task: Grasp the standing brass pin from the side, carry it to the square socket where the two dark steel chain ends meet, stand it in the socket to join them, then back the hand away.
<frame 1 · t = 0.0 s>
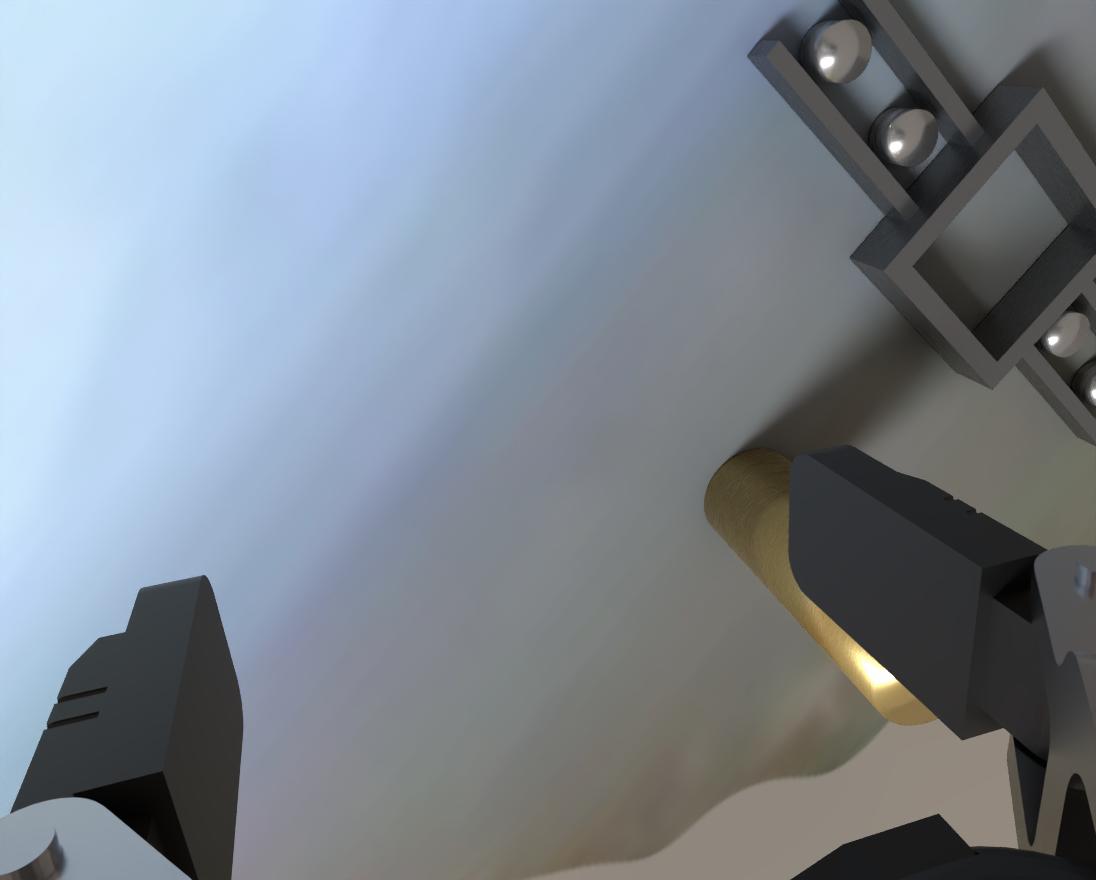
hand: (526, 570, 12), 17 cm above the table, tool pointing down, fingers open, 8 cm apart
brass pin: (750, 494, 34), on the table
chain ends: (975, 238, 32), on the table
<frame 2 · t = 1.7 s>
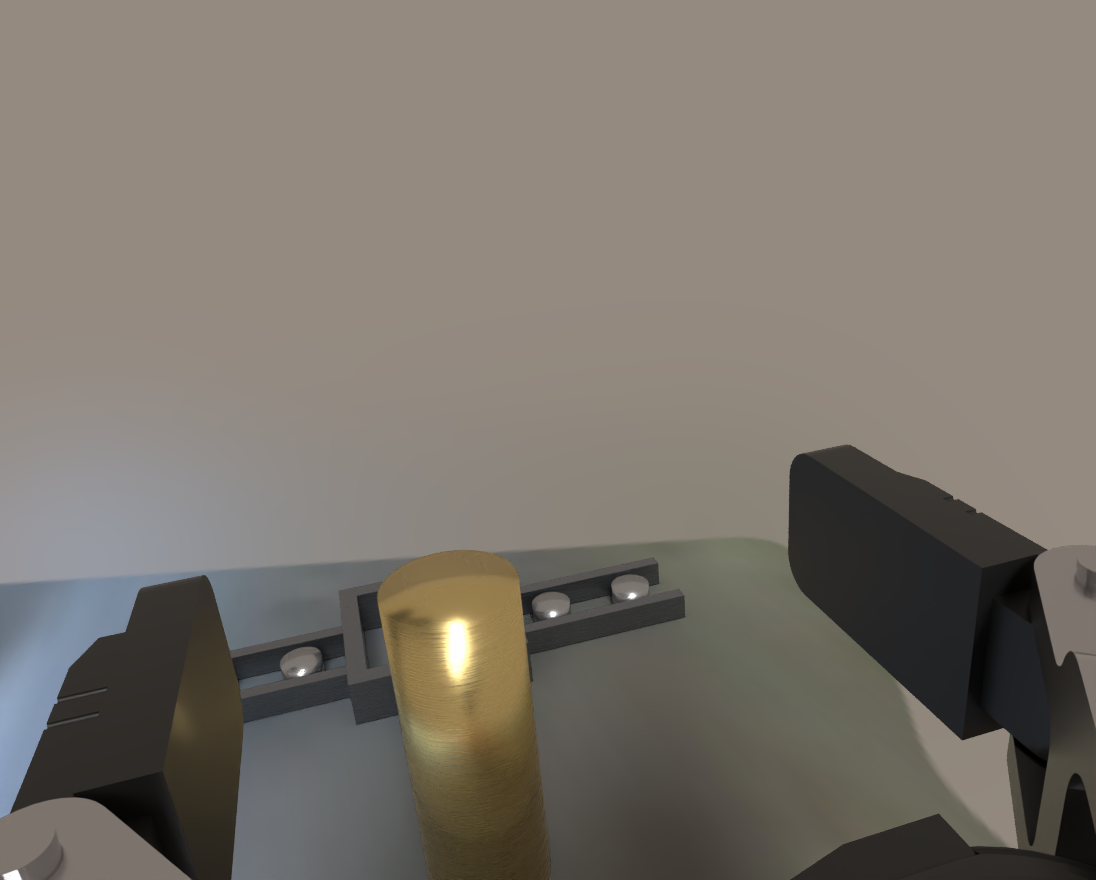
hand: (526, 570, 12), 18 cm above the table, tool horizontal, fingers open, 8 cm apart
brass pin: (490, 870, 28), on the table
chain ends: (433, 651, 40), on the table
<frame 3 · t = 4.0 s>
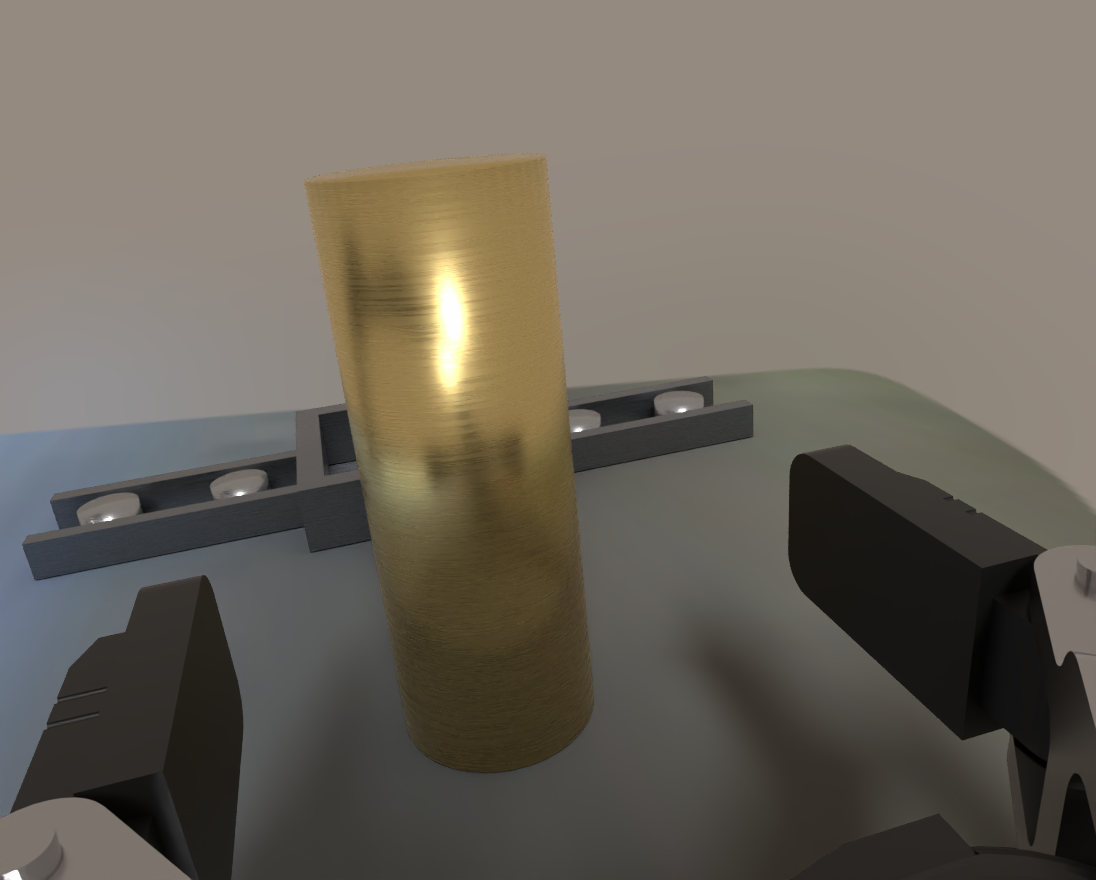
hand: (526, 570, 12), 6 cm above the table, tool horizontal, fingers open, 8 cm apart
brass pin: (500, 703, 18), on the table
chain ends: (419, 479, 30), on the table
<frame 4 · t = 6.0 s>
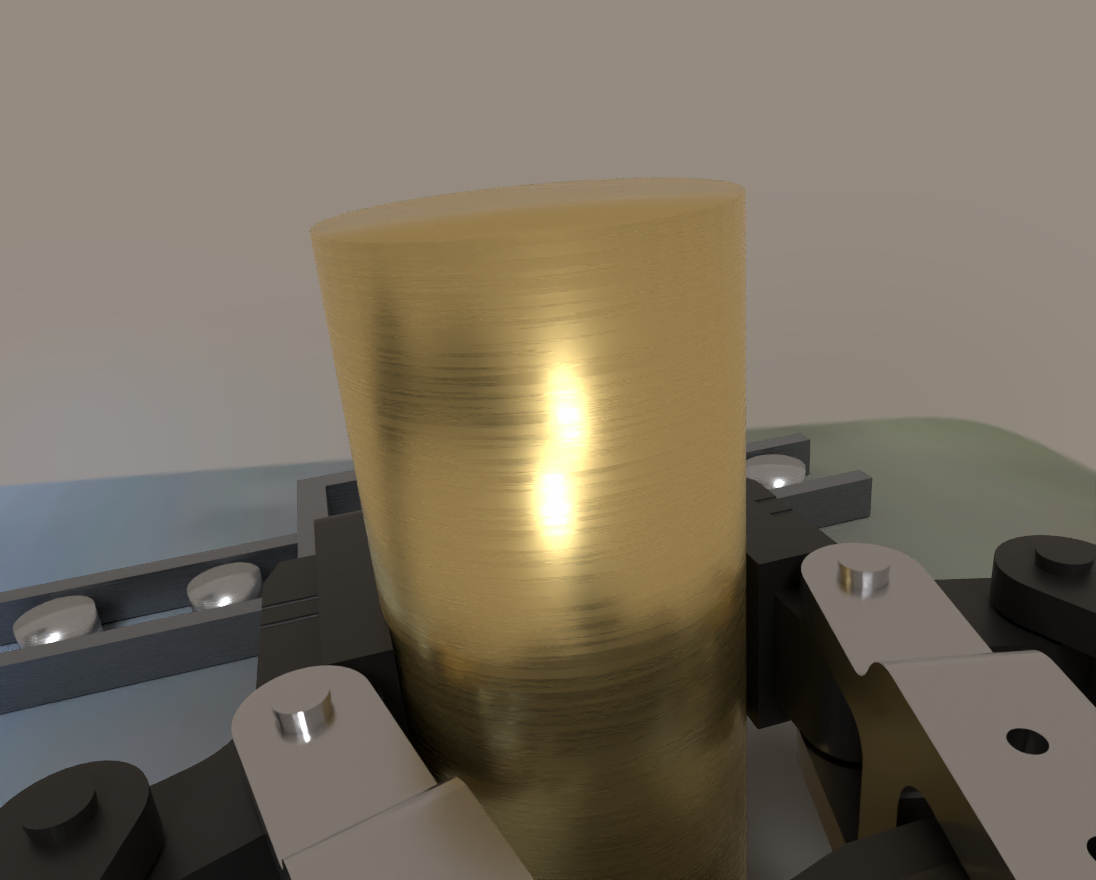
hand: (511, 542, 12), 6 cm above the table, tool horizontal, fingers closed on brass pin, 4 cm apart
chain ends: (452, 572, 24), on the table
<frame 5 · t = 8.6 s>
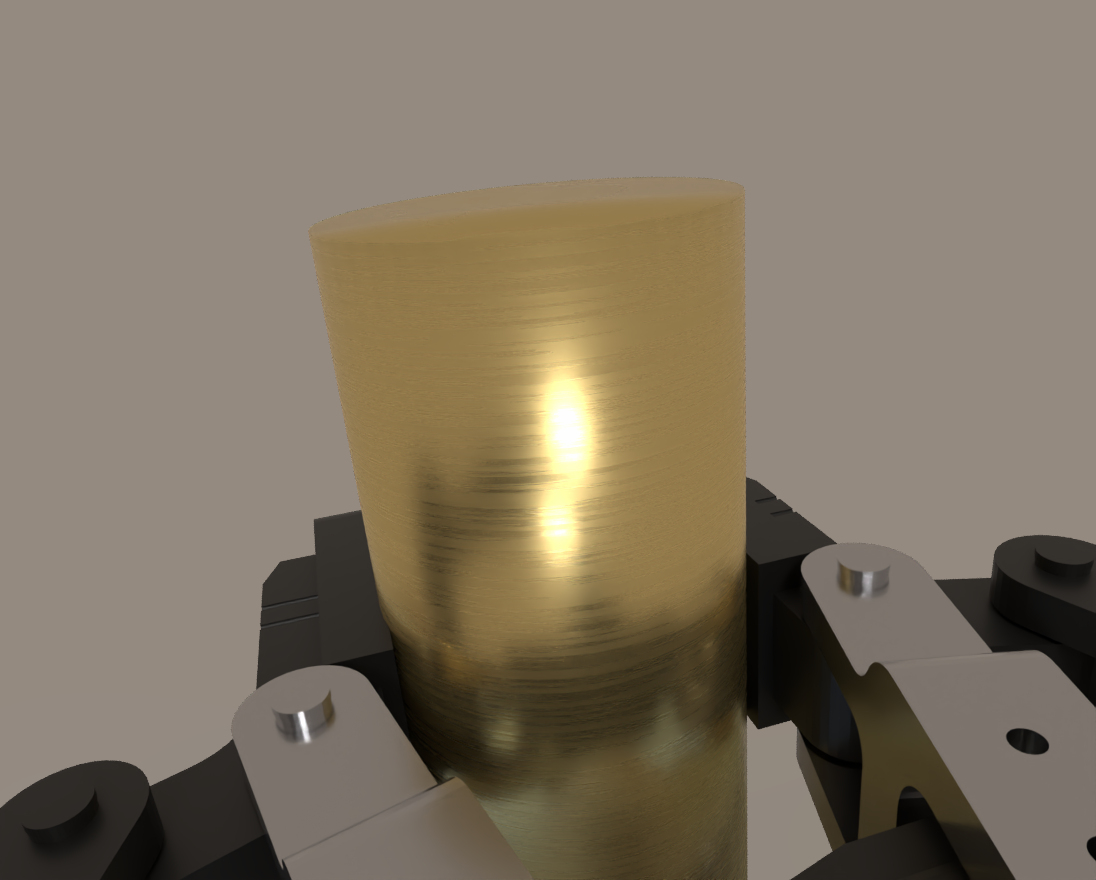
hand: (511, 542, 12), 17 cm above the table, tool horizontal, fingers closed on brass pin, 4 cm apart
when the fingers open (7 cm above the table, at t = 11.1 s): brass pin drops 1 cm, resting in chain ends.
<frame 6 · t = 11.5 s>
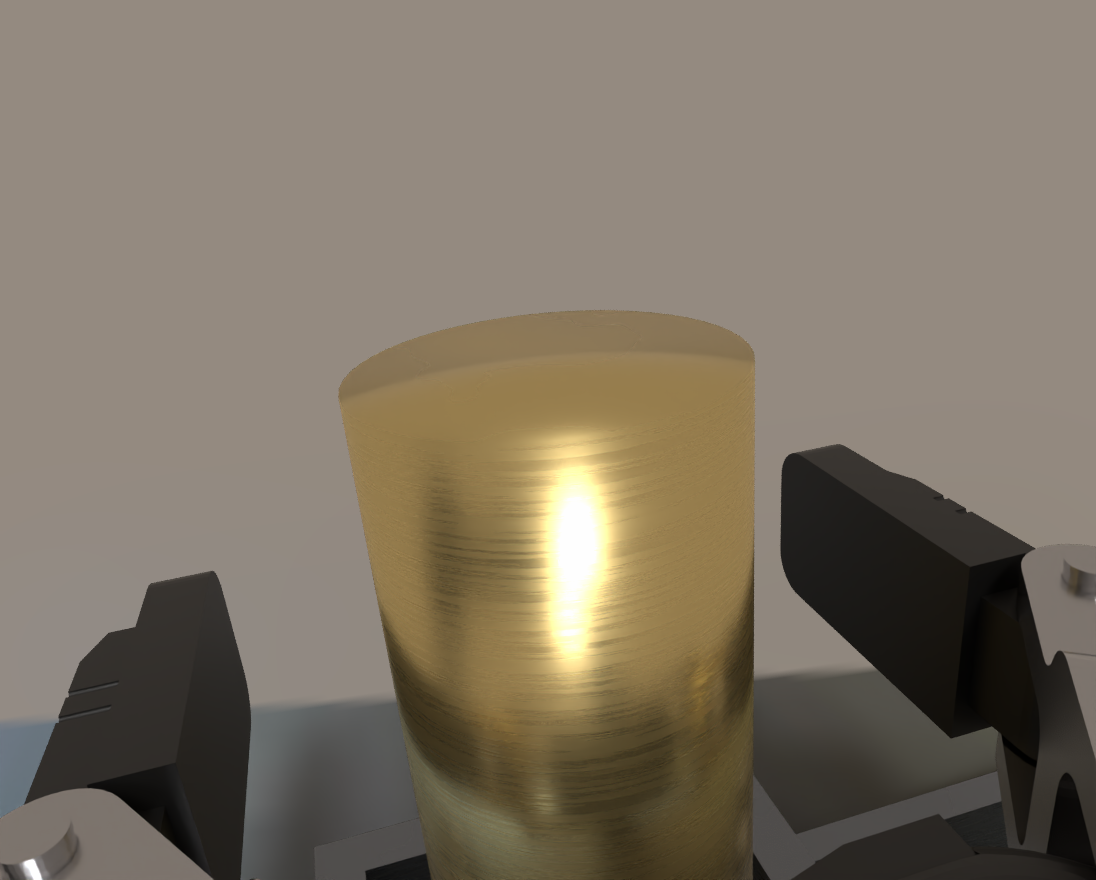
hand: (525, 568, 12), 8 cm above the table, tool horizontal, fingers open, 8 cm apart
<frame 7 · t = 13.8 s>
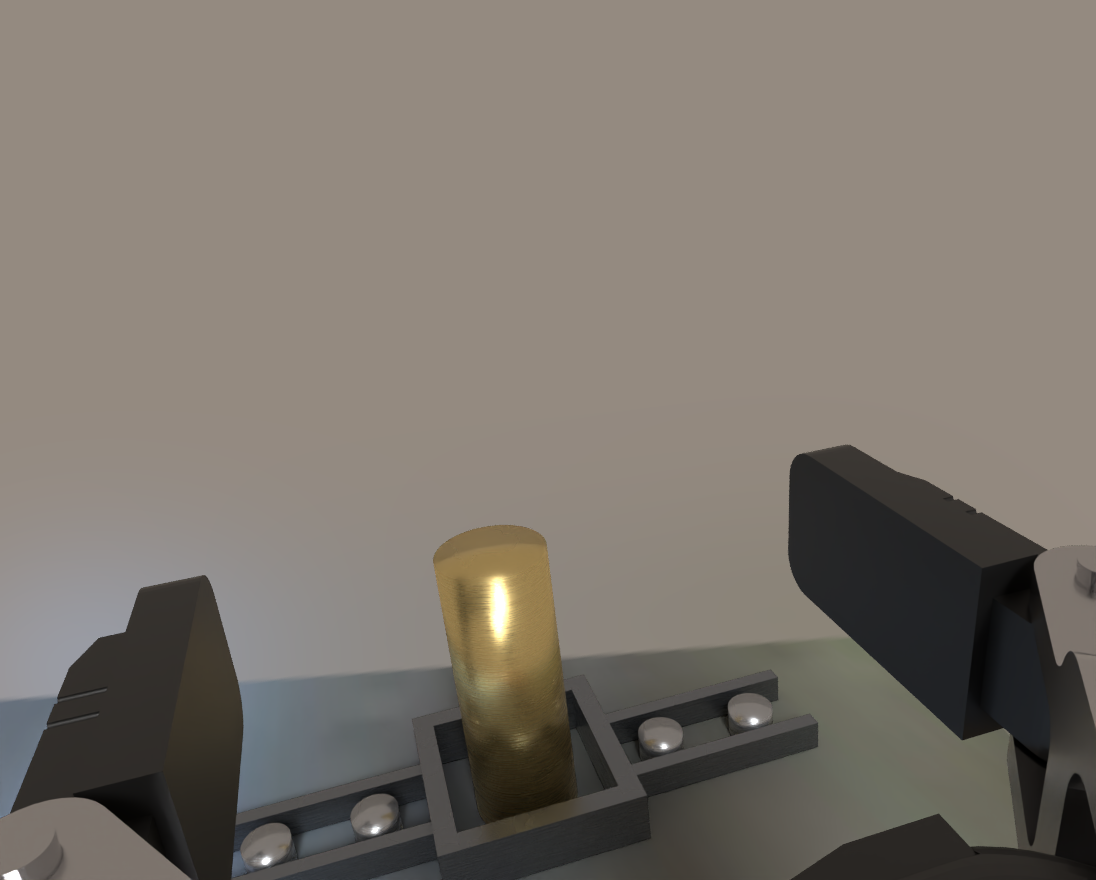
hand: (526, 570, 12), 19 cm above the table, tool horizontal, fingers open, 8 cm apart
brass pin: (527, 795, 34), resting in chain ends
chain ends: (526, 794, 34), on the table
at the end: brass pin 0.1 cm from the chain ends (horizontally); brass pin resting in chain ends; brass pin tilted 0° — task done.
